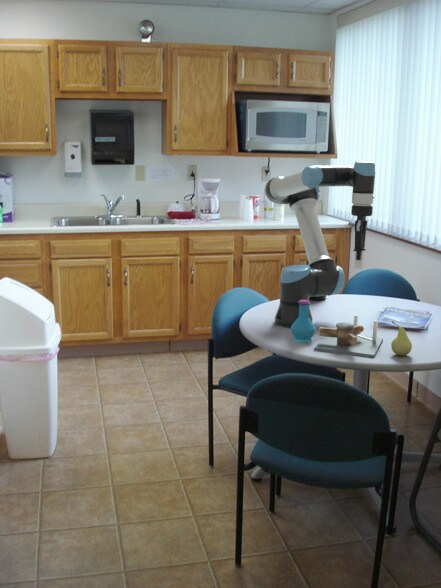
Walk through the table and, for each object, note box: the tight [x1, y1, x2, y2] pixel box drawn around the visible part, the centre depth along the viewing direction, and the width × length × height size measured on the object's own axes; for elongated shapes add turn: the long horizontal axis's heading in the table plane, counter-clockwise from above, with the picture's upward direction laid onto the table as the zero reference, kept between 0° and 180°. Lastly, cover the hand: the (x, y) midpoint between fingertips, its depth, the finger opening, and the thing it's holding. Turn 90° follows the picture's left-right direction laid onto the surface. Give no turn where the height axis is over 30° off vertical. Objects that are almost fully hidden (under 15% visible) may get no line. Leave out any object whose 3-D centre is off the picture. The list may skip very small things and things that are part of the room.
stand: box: [313, 314, 384, 359], centre depth 246 cm, size 21×21×9 cm
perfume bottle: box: [290, 300, 317, 343], centre depth 252 cm, size 9×9×15 cm
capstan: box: [318, 322, 365, 346], centre depth 246 cm, size 16×16×7 cm
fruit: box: [390, 320, 413, 357], centre depth 236 cm, size 7×8×12 cm
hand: (358, 268), depth 252 cm, fingers closed
